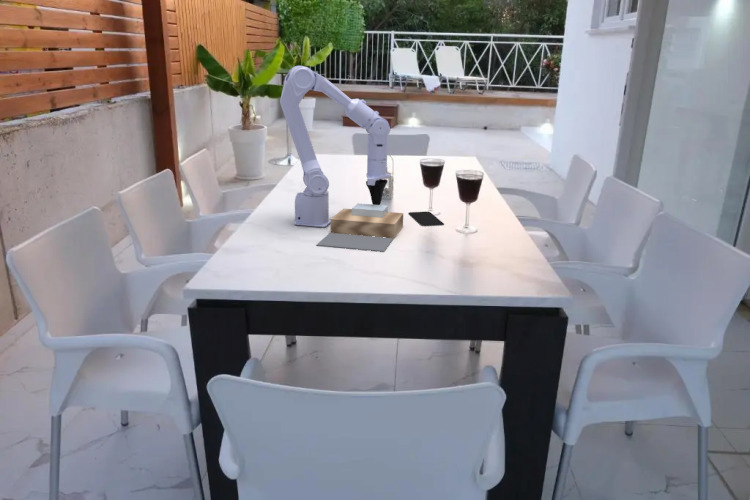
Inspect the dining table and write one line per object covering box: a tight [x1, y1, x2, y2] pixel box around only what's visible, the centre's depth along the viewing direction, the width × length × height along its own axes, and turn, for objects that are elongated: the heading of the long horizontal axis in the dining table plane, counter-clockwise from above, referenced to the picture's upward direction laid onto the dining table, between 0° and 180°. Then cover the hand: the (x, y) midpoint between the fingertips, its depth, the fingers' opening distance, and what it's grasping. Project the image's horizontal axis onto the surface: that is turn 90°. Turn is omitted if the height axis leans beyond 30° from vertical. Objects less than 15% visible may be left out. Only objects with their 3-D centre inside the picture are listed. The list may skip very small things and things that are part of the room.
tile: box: [351, 202, 389, 218], centre depth 168 cm, size 9×6×2 cm, turn 76°
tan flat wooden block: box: [330, 208, 404, 239], centre depth 166 cm, size 18×12×4 cm, turn 76°
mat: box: [315, 232, 394, 253], centre depth 155 cm, size 18×11×1 cm, turn 76°
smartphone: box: [408, 211, 445, 227], centre depth 179 cm, size 7×1×15 cm
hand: (376, 204), depth 175 cm, fingers closed
